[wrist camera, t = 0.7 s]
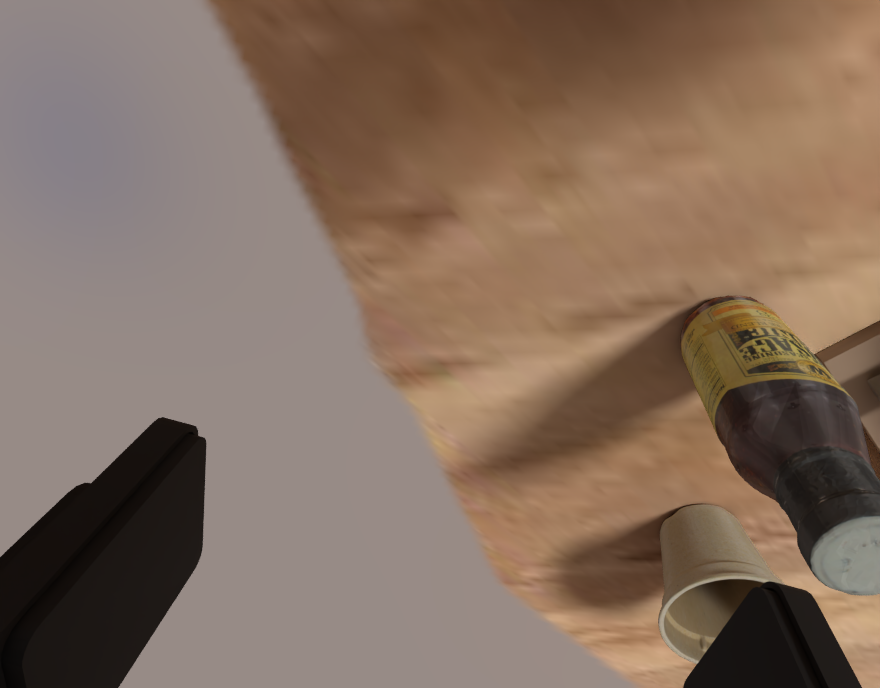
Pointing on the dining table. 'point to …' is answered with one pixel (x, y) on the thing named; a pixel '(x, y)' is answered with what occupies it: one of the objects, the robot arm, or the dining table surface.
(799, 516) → the sauce bottle
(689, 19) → the dining table surface
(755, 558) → the flower pot
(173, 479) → the robot arm
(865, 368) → the board
